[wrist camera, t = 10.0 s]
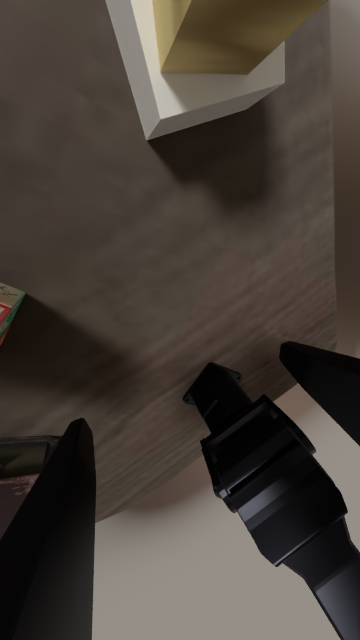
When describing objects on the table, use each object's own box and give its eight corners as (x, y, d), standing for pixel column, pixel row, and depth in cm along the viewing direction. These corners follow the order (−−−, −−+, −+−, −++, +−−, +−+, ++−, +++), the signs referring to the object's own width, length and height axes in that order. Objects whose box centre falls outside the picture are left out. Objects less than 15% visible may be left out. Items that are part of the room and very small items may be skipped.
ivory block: (226, -90, 11) (284, -223, 8) (243, 111, 15) (284, 82, 12) (83, -70, 10) (75, -220, 6) (145, 142, 14) (160, 119, 11)
